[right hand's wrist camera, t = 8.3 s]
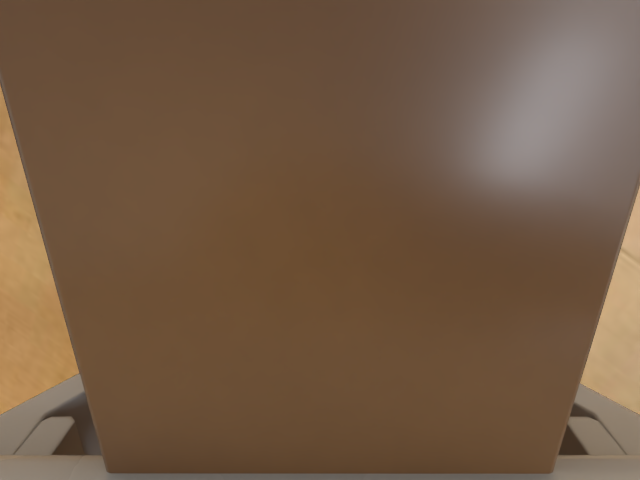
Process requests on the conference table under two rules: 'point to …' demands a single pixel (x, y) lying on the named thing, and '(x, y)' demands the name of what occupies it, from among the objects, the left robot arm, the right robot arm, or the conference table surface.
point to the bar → (328, 222)
